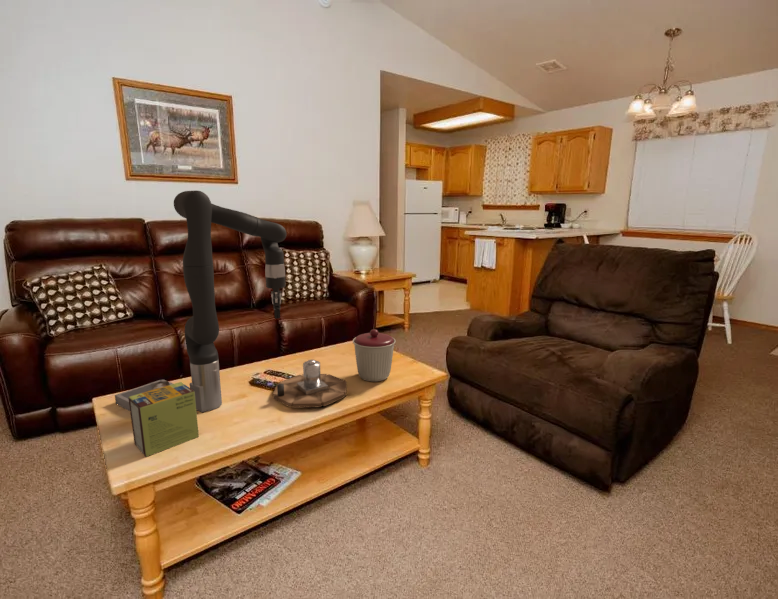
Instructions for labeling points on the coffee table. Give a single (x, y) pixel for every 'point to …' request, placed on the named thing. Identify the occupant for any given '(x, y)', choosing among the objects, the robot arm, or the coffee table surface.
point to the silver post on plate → (312, 378)
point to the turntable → (296, 398)
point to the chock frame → (123, 397)
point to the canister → (374, 355)
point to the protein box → (163, 418)
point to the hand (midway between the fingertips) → (277, 317)
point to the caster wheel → (159, 385)
